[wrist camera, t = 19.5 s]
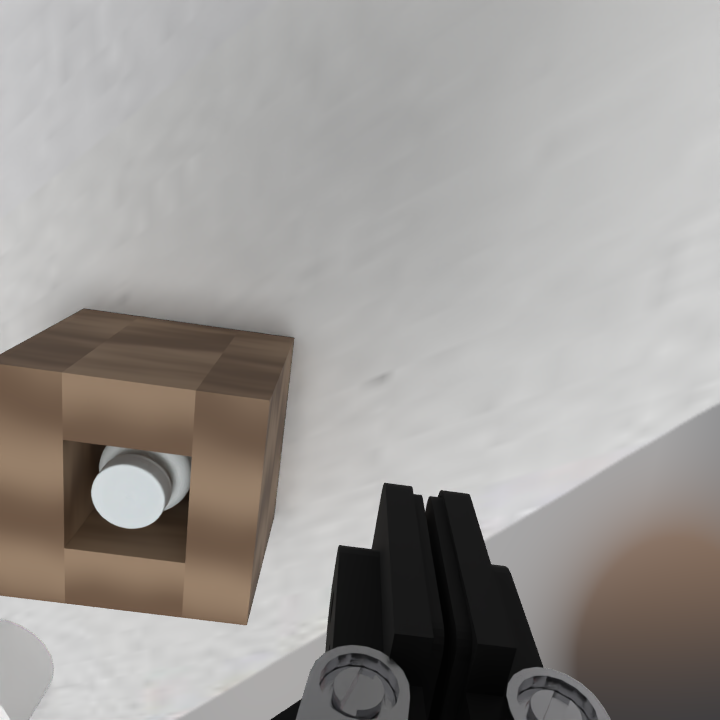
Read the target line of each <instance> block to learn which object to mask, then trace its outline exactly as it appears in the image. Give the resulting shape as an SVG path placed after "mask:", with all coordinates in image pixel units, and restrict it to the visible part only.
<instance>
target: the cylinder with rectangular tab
mask: <svg viewBox="0 0 720 720" xmlns="http://www.w3.org/2000/svg"><path fill="white" fill-rule="evenodd" d="M53 671H54V665H53V661H52V657H51V654H50V653H49V651H48V649H47V648H46V646H45V644H44V643H43V642H42V641H41V640H40V639H39V638H38V637H37V636H36V635H35V634H34V633H32V632H31V631H29V630H28V629H26V628H24V627H23V626H21V625H18V624H16V623H13V622H11V621H8V620H3V619H0V720H29V719H30V717H31V716H32V714H33V712H34V711H35V709H36V707H37V705H38V704H39V702H40V700H41V699H42V697H43V695H44V694H45V692H46V690H47V689H48V687H49V685H50V683H51V681H52V678H53Z"/></svg>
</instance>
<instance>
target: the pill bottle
mask: <svg viewBox="0 0 720 720" xmlns="http://www.w3.org/2000/svg"><path fill="white" fill-rule="evenodd" d="M191 461H192V457H190V456H183V455H175V454H167V453H160V452H152V451H144V450H137V449H129V448H121V447H114V446H106V447H105V449H104V450H103V453H102V455H101V458H100V463H99V474H98V475H97V476H96V478H95V480H94V482H93V485H92V489H91V496H92V501H93V504H94V506H95V508H96V510H97V511H98V512H99V514H100V515H101V516H102V517H103V518H104V519H106V520H107V521H108V522H110V523H112V524H114V525H116V526H119V527H123V528H128V529H136V528H142V527H145V526H148V525H150V524H152V523H153V522H155V521H156V520H157V519H158V518H159V517H160V515H161V514H162V512H163V511H165V510H167V509H170V508H172V507H173V506H175V505H176V504H178V503H179V502H180V501H181V500H182V499H183V498H184V497H185V495H186V494H187V492H188V491H189V490H190V477H191Z"/></svg>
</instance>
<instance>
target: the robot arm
mask: <svg viewBox="0 0 720 720" xmlns="http://www.w3.org/2000/svg"><path fill="white" fill-rule="evenodd" d="M271 720H610V718H609V716H608V714H607V713H606V711H605V709H604V708H603V706H602V705H601V703H600V702H599V701H598V699H597V698H596V697H595V696H594V694H593V693H591V692H590V691H589V690H588V689H587V688H586V687H585V686H584V685H582V684H581V683H580V682H578V681H577V680H575V679H573V678H571V677H570V676H568V675H566V674H564V673H561V672H558V671H555V670H553V669H548V668H543V665H542V662H541V659H540V657H539V653H538V650H537V648H536V645H535V642H534V639H533V636H532V633H531V630H530V627H529V624H528V622H527V619H526V616H525V613H524V610H523V607H522V604H521V601H520V599H519V596H518V593H517V590H516V587H515V584H514V581H513V578H512V576H511V573H510V571H509V569H508V568H507V567H506V566H500V565H492V564H491V562H490V559H489V556H488V553H487V549H486V546H485V543H484V540H483V536H482V533H481V530H480V527H479V523H478V520H477V517H476V513H475V510H474V507H473V504H472V500H471V497H470V495H469V494H466V493H458V492H450V491H443V490H441V491H440V492H439V495H438V497H432V496H430V497H429V499H428V502H427V506H426V511H425V509H424V503H423V497H422V495H416V494H413V488H412V487H411V486H404V485H397V484H389V483H384V485H383V489H382V494H381V499H380V505H379V511H378V517H377V522H376V528H375V534H374V539H373V545H372V549H366V548H358V547H350V546H342V545H339V547H338V552H337V557H336V564H335V570H334V577H333V584H332V591H331V598H330V607H329V616H328V626H327V639H326V651H325V653H324V654H323V655H322V656H321V657H320V658H319V659H317V660H316V661H315V663H314V666H313V667H312V669H311V671H310V674H309V677H308V680H307V683H306V687H305V690H304V693H303V697H302V699H301V700H299V701H298V702H296V703H295V704H293V705H292V706H290V707H289V708H287V709H286V710H285V711H283V712H281V713H280V714H278V715H277V716H275V717H274V718H272V719H271Z"/></svg>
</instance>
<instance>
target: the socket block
mask: <svg viewBox="0 0 720 720" xmlns="http://www.w3.org/2000/svg"><path fill="white" fill-rule="evenodd" d="M293 345H294V338H291V337H284V336H277V335H270V334H262V333H255V332H248V331H241V330H234V329H226V328H219V327H212V326H205V325H198V324H190V323H183V322H176V321H169V320H162V319H154V318H147V317H140V316H133V315H126V314H118V313H111V312H104V311H97V310H90V309H82V310H80V311H79V312H77V313H75V314H73V315H71V316H69V317H68V318H66V319H64V320H62V321H60V322H59V323H57V324H55V325H53V326H51V327H49V328H48V329H46V330H44V331H42V332H40V333H38V334H37V335H35V336H33V337H31V338H29V339H27V340H26V341H24V342H22V343H20V344H18V345H16V346H15V347H13V348H11V349H9V350H7V351H5V352H4V353H2V354H0V596H9V597H17V598H25V599H34V600H42V601H50V602H58V603H67V604H75V605H83V606H91V607H100V608H108V609H116V610H124V611H133V612H141V613H149V614H157V615H166V616H174V617H182V618H191V619H199V620H207V621H215V622H224V623H232V624H240V625H247V622H248V618H249V614H250V610H251V606H252V602H253V599H254V595H255V591H256V587H257V583H258V579H259V575H260V571H261V567H262V563H263V559H264V555H265V551H266V547H267V543H268V539H269V535H270V531H271V527H272V523H273V519H274V513H275V504H276V495H277V487H278V478H279V469H280V460H281V451H282V442H283V434H284V425H285V416H286V407H287V398H288V389H289V380H290V372H291V363H292V354H293ZM106 446H114V447H121V448H129V449H137V450H144V451H152V452H160V453H167V454H175V455H183V456H190V457H192V461H191V477H190V490H189V491H188V492H187V494H186V495H185V497H184V498H183V499H182V500H181V501H180V502H179V503H178V504H176V505H175V506H173V507H172V508H170V509H167V510H165V511H163V512H162V514H161V515H160V517H159V518H158V519H157V520H156V521H155V522H153V523H152V524H150V525H148V526H145V527H142V528H136V529H128V528H123V527H119V526H116V525H114V524H112V523H110V522H108V521H107V520H106V519H104V518H103V517H102V516H101V515H100V514H99V512H98V511H97V510H96V508H95V506H94V504H93V501H92V496H91V489H92V485H93V482H94V480H95V478H96V476H97V475H98V474H99V463H100V458H101V455H102V453H103V450H104V449H105V447H106Z"/></svg>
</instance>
